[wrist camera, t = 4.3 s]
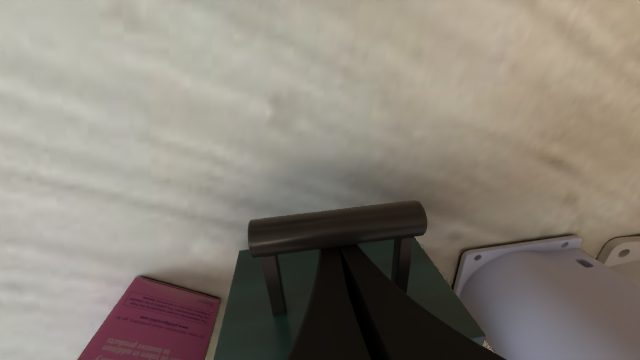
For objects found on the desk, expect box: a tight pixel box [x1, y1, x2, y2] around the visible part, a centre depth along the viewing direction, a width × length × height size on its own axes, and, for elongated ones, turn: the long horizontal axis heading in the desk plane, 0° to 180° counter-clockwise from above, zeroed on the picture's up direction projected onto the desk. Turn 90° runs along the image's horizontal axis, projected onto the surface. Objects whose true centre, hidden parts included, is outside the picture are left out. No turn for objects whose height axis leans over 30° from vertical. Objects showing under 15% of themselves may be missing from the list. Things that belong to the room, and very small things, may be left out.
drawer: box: [214, 200, 486, 360], centre depth 14 cm, size 17×10×7 cm, turn 4°
